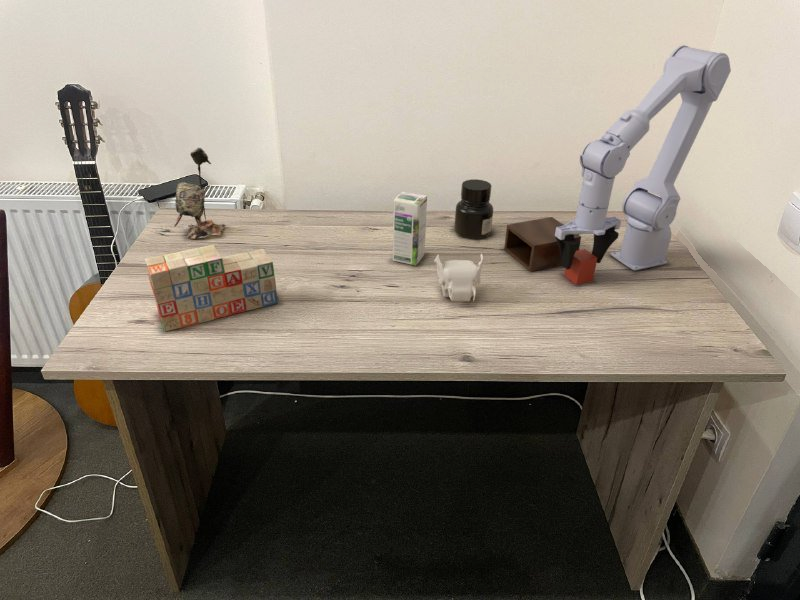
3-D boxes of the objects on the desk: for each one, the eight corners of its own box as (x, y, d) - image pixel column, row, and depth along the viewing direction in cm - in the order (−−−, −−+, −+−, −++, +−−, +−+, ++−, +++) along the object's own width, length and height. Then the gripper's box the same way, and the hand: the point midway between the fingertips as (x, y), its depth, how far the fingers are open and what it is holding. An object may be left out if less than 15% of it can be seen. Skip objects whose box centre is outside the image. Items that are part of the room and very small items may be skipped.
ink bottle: (493, 241, 141) (498, 193, 134) (455, 240, 141) (459, 192, 134) (488, 223, 149) (493, 177, 142) (452, 222, 149) (456, 176, 143)
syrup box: (391, 261, 132) (392, 199, 124) (401, 250, 136) (403, 189, 128) (416, 266, 130) (418, 204, 122) (425, 254, 134) (428, 194, 127)
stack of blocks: (268, 289, 121) (262, 234, 114) (278, 304, 116) (272, 247, 110) (158, 315, 113) (143, 257, 106) (163, 332, 108) (149, 273, 101)
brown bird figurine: (184, 224, 146) (169, 143, 135) (230, 226, 145) (218, 145, 134) (171, 239, 139) (153, 155, 128) (219, 241, 138) (205, 157, 127)
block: (580, 272, 129) (585, 248, 126) (592, 281, 126) (597, 257, 123) (564, 275, 128) (568, 252, 125) (576, 285, 124) (580, 261, 121)
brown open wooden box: (547, 241, 141) (552, 216, 138) (576, 262, 133) (581, 236, 129) (503, 249, 137) (506, 224, 134) (530, 271, 129) (534, 245, 125)
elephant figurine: (437, 312, 115) (439, 272, 110) (431, 280, 125) (433, 242, 120) (486, 312, 115) (491, 271, 110) (476, 280, 125) (480, 242, 121)
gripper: (575, 216, 112) (563, 279, 119) (636, 205, 117) (621, 266, 124) (553, 202, 117) (543, 263, 125) (613, 192, 122) (599, 251, 130)
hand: (580, 264), depth 125 cm, fingers open, 7 cm apart
